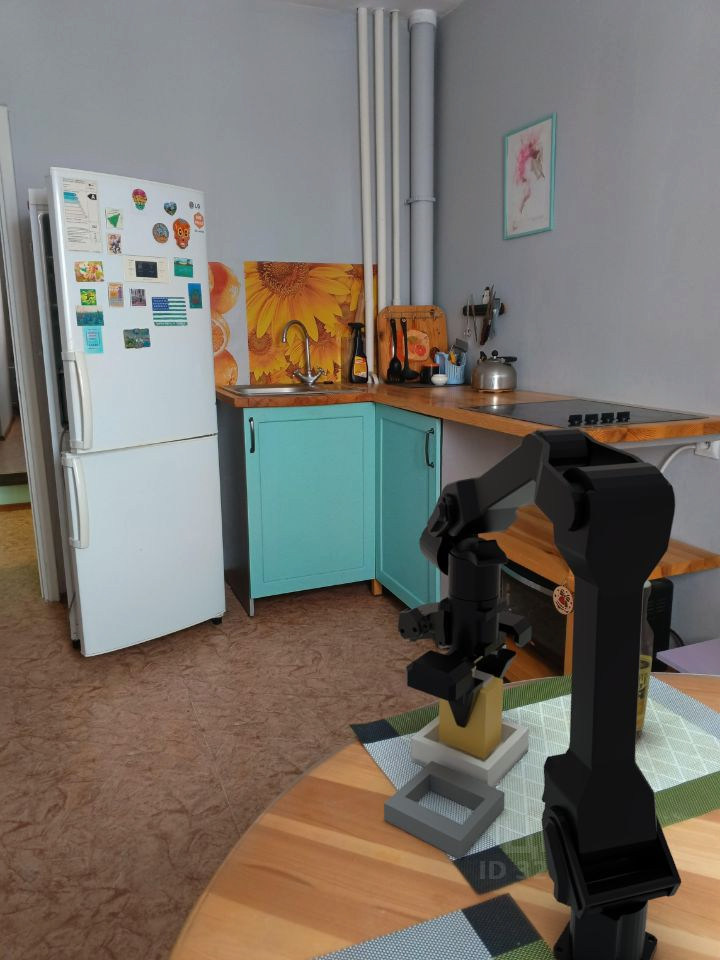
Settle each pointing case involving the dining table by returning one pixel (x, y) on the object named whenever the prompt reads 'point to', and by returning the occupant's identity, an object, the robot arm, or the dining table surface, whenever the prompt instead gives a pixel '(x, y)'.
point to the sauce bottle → (644, 661)
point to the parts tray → (466, 763)
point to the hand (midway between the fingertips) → (470, 717)
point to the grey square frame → (437, 826)
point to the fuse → (476, 720)
